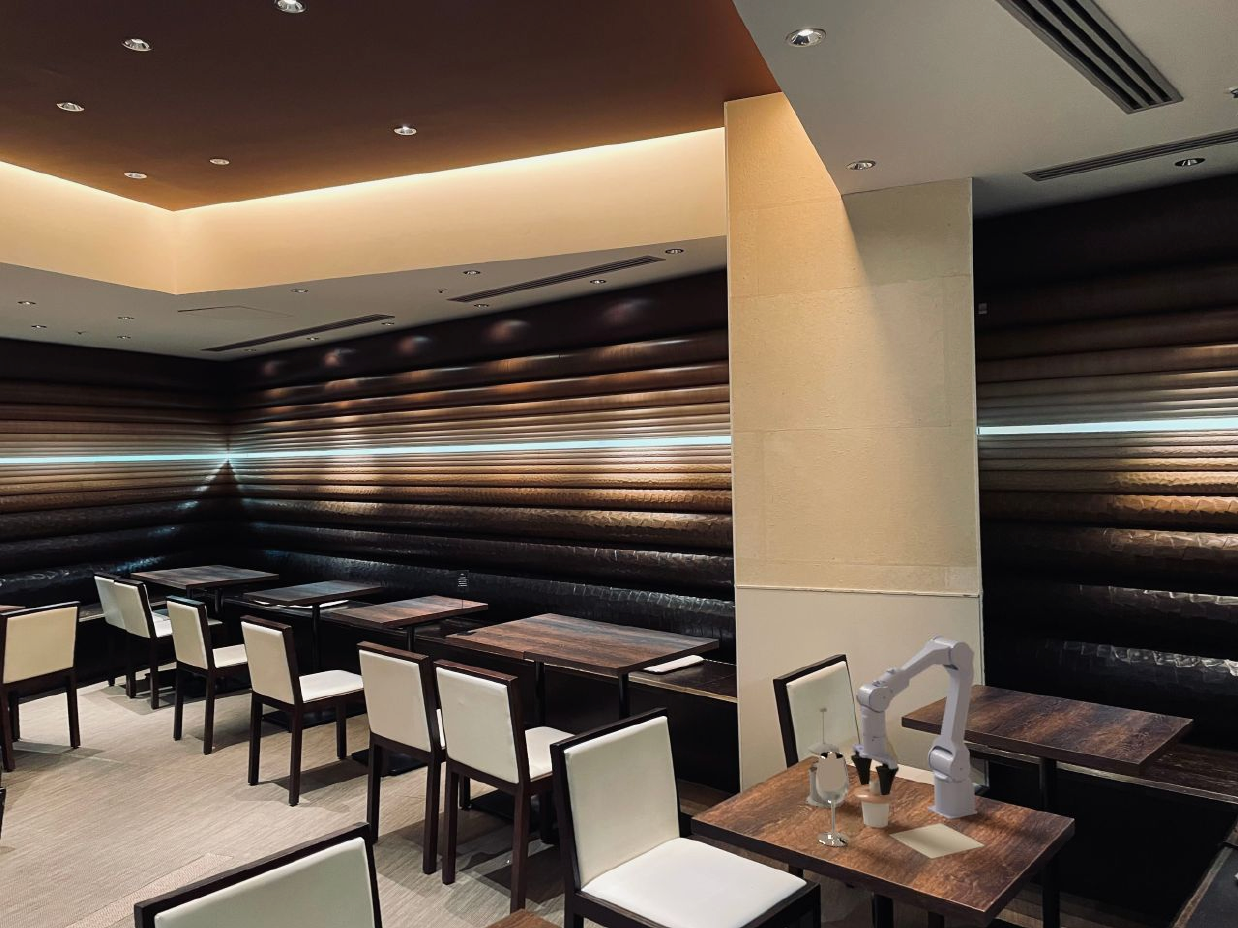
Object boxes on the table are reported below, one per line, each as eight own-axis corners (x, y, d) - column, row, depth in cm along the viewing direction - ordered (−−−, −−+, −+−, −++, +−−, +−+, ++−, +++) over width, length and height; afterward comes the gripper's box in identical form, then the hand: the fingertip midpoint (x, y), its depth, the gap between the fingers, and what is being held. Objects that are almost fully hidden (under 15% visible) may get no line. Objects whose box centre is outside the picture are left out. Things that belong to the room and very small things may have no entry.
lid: (877, 786, 215) (877, 772, 215) (904, 799, 206) (904, 784, 206) (845, 792, 211) (845, 777, 211) (871, 806, 202) (871, 791, 202)
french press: (798, 797, 227) (796, 704, 227) (833, 790, 231) (831, 699, 232) (821, 810, 218) (819, 713, 218) (857, 802, 222) (855, 707, 223)
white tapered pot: (891, 830, 204) (891, 801, 204) (862, 828, 206) (862, 800, 206) (888, 819, 211) (888, 791, 211) (860, 817, 212) (859, 790, 213)
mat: (940, 824, 207) (940, 823, 207) (985, 846, 194) (985, 845, 194) (888, 836, 201) (888, 834, 201) (931, 860, 188) (931, 858, 188)
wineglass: (832, 849, 194) (830, 762, 195) (810, 837, 201) (808, 753, 202) (857, 842, 198) (855, 756, 198) (835, 830, 205) (833, 747, 205)
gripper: (842, 728, 214) (843, 782, 214) (880, 744, 201) (881, 801, 200) (864, 724, 217) (865, 777, 216) (903, 740, 203) (905, 796, 203)
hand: (875, 789), depth 209 cm, fingers open, 7 cm apart
